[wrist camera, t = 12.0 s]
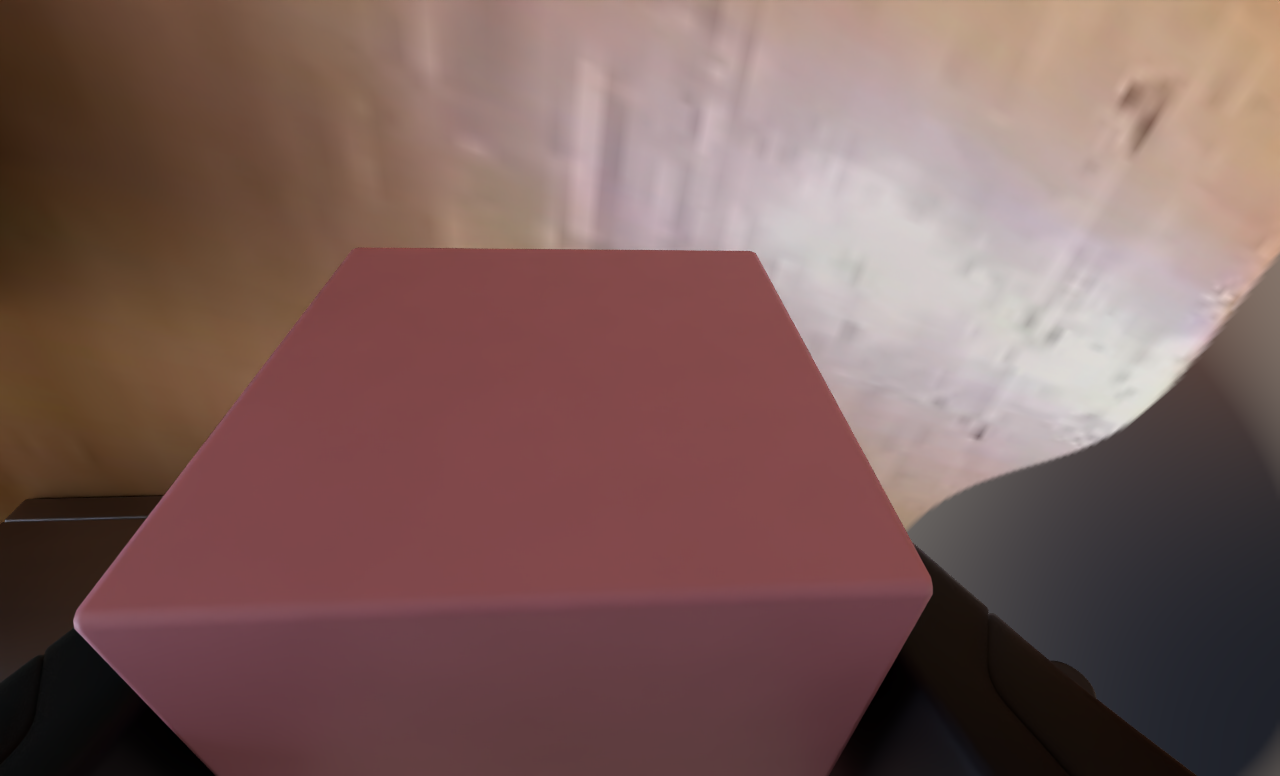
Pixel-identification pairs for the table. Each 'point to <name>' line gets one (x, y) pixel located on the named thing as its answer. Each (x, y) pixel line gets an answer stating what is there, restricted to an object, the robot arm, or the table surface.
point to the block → (521, 534)
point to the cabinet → (57, 566)
